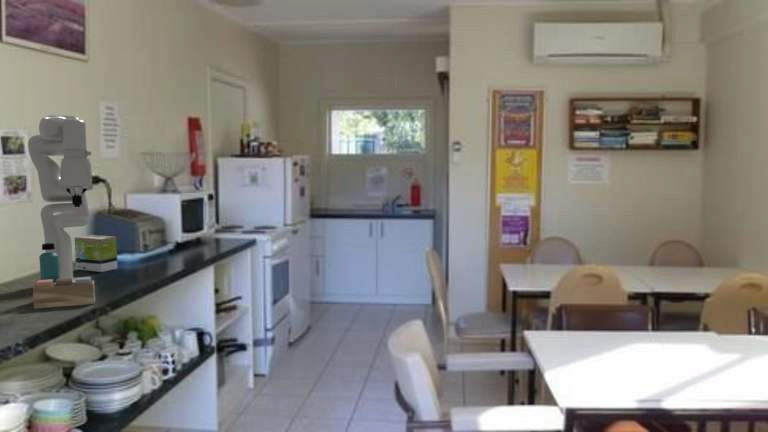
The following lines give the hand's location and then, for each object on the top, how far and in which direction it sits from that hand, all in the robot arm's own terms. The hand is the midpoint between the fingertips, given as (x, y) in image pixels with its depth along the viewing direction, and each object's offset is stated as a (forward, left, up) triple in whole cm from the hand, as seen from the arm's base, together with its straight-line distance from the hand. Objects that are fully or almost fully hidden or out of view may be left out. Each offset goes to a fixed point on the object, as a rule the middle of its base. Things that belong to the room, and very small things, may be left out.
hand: (77, 206), depth 249 cm
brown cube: (+11, -5, -29) cm, 31 cm away
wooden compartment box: (+11, -5, -33) cm, 35 cm away
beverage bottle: (0, -10, -33) cm, 34 cm away
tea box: (-61, +2, -33) cm, 70 cm away
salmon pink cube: (+11, -11, -29) cm, 33 cm away
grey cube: (+11, +1, -29) cm, 31 cm away
